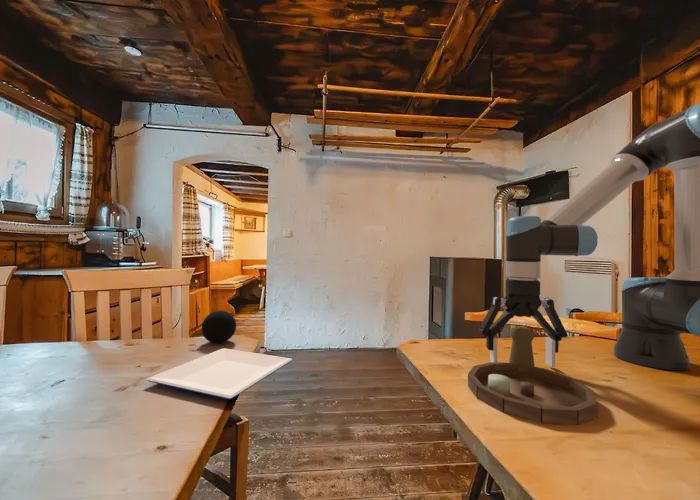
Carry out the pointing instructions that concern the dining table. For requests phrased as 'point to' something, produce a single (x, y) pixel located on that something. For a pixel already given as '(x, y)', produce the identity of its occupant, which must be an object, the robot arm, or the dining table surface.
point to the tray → (535, 394)
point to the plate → (221, 372)
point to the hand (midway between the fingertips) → (521, 364)
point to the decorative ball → (218, 327)
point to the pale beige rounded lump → (499, 384)
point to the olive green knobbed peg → (522, 346)
